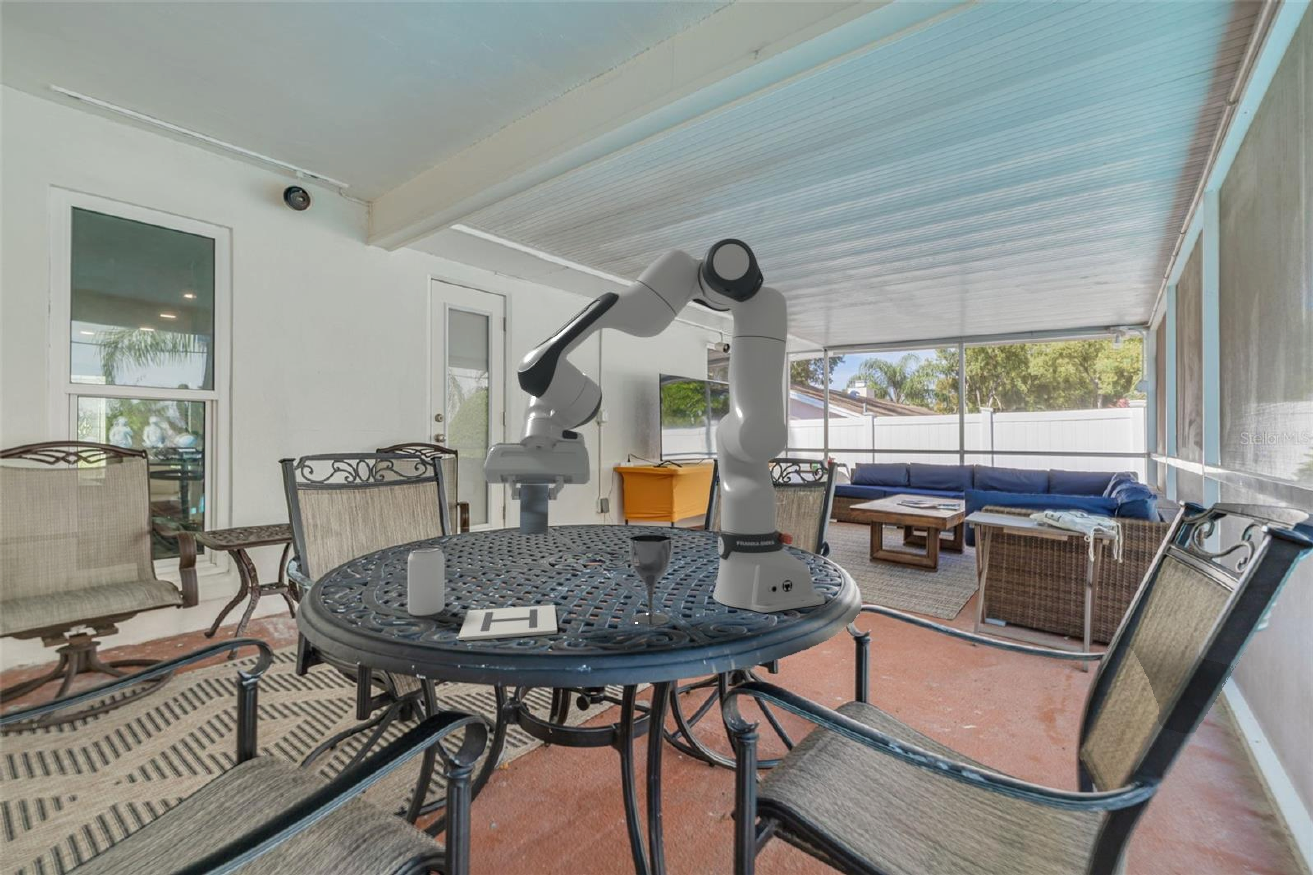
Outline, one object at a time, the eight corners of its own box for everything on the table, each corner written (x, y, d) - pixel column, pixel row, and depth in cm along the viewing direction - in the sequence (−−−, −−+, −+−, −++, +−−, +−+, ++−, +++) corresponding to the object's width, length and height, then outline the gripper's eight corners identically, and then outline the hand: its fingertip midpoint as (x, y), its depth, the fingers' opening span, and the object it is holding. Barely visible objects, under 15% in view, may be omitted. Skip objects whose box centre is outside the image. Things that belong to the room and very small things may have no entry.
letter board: (554, 608, 109) (554, 604, 109) (557, 633, 95) (557, 629, 95) (468, 613, 105) (468, 610, 105) (458, 640, 92) (458, 637, 92)
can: (431, 618, 103) (431, 553, 103) (400, 615, 104) (400, 551, 104) (451, 607, 109) (451, 546, 109) (421, 605, 110) (421, 544, 110)
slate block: (547, 529, 107) (548, 482, 107) (547, 534, 102) (548, 485, 102) (520, 529, 106) (521, 482, 106) (519, 534, 101) (520, 485, 101)
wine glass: (621, 623, 100) (621, 539, 100) (639, 610, 108) (639, 532, 107) (663, 629, 97) (663, 543, 97) (678, 615, 105) (678, 535, 104)
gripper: (486, 432, 110) (473, 486, 100) (591, 433, 112) (588, 487, 102) (491, 454, 115) (479, 508, 105) (591, 455, 116) (588, 508, 107)
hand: (534, 498), depth 104 cm, fingers closed on slate block, 5 cm apart
